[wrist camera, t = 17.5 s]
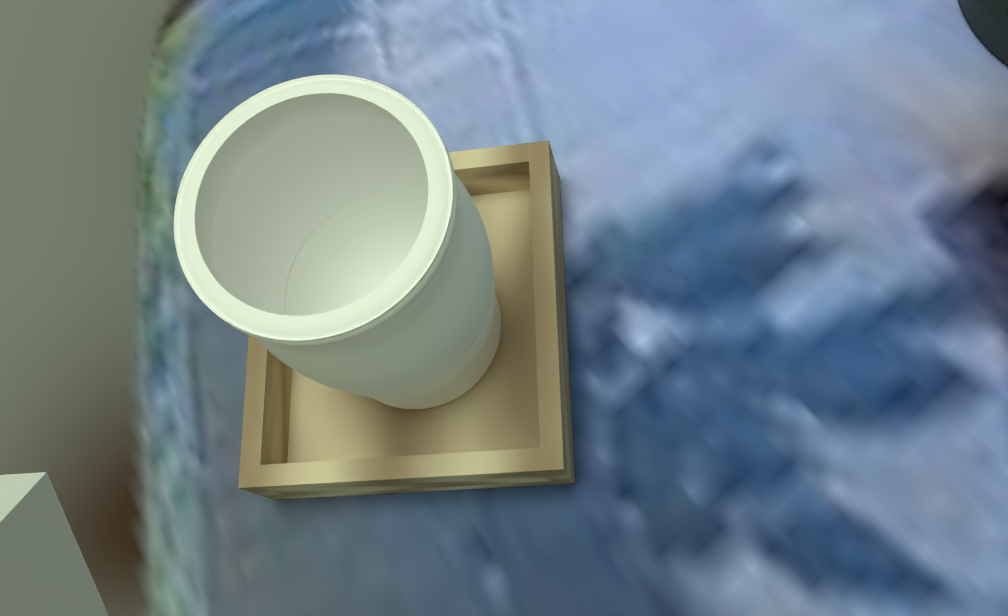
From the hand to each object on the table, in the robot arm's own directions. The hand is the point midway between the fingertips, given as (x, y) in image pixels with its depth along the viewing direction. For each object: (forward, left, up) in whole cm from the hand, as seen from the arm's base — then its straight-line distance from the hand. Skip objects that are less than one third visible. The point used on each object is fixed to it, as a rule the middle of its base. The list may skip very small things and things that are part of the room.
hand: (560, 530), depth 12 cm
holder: (+11, -14, -33) cm, 37 cm away
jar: (+11, -14, -32) cm, 36 cm away
